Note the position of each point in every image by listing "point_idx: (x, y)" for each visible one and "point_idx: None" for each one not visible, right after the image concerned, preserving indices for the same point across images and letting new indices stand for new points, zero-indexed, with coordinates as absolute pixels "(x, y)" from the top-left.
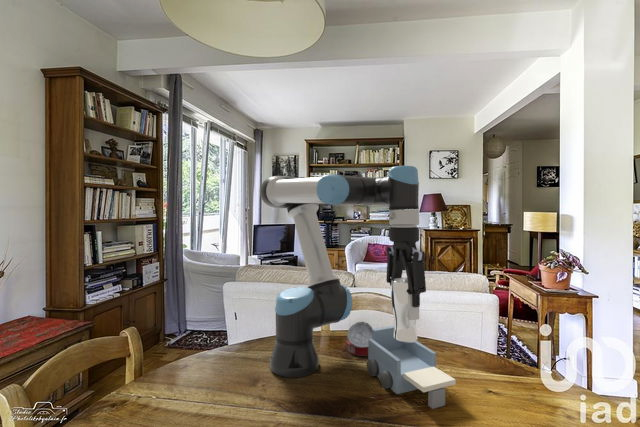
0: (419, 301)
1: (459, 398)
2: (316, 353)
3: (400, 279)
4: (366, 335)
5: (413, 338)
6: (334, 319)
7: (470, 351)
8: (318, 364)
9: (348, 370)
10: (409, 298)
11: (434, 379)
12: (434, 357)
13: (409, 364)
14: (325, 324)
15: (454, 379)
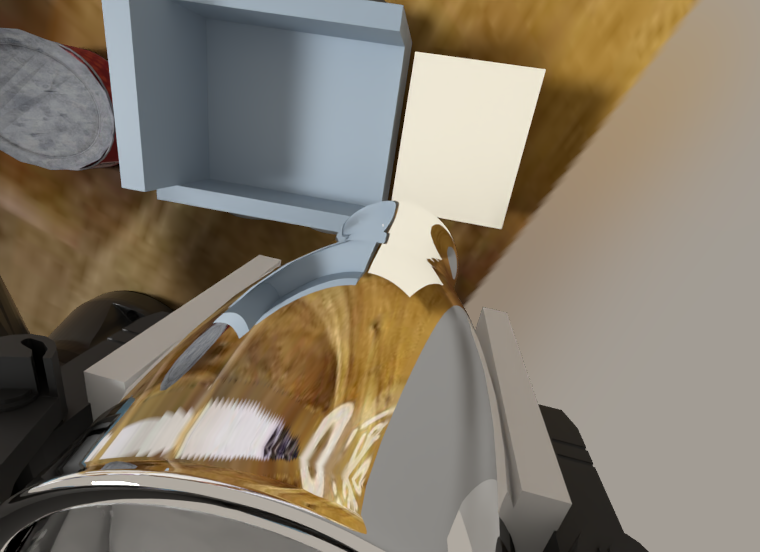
0: (589, 464)
1: (515, 39)
2: (119, 305)
3: (23, 550)
4: (39, 82)
5: (457, 275)
6: (2, 299)
7: None
8: (162, 307)
9: (214, 245)
10: None
11: (489, 147)
12: (403, 25)
13: (337, 118)
14: (24, 325)
15: (542, 74)
